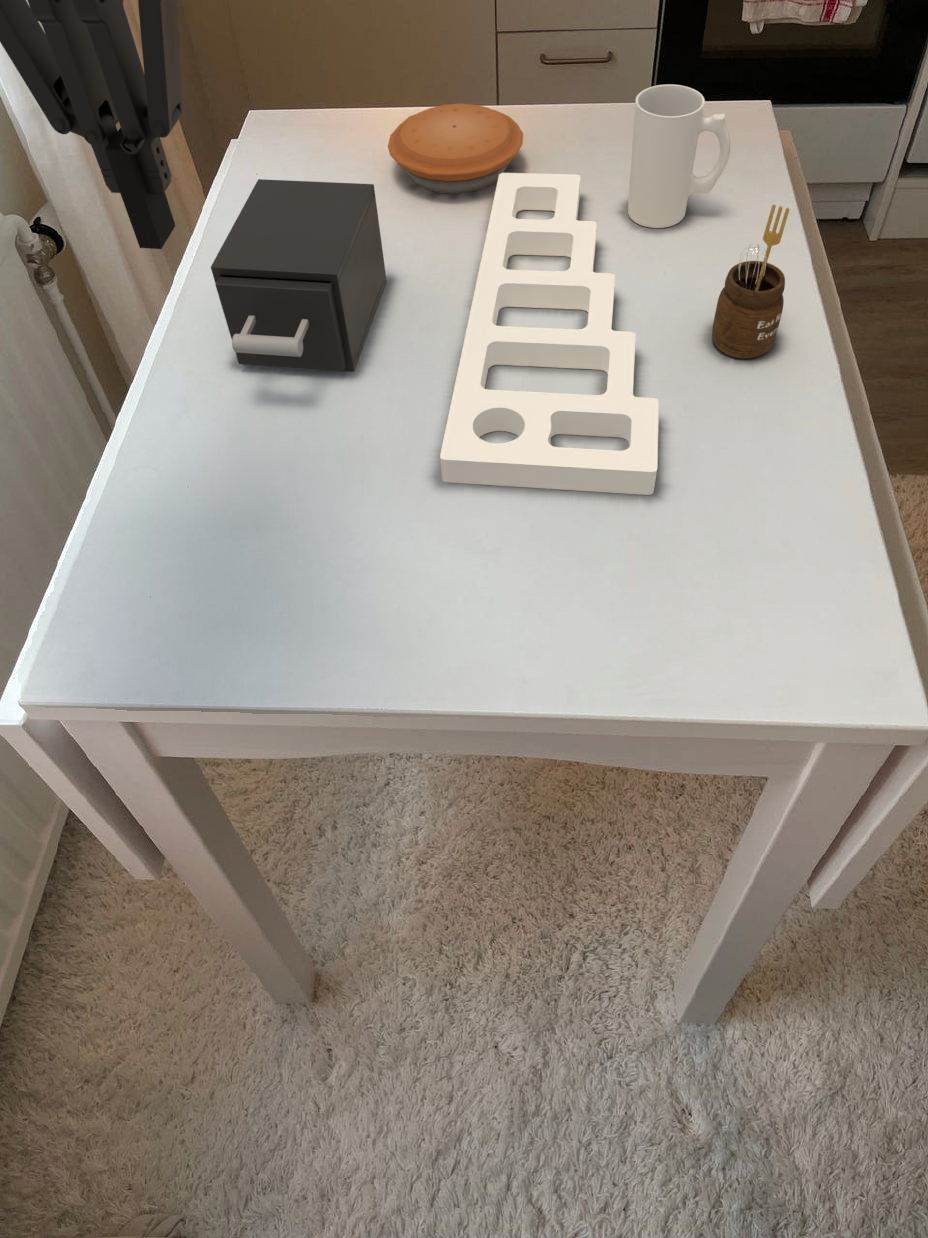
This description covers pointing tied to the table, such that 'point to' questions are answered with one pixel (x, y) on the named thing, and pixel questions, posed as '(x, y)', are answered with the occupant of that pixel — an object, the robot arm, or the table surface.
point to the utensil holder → (751, 301)
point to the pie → (455, 147)
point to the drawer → (282, 323)
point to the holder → (546, 358)
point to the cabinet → (313, 246)
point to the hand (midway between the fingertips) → (157, 236)
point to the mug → (670, 153)
